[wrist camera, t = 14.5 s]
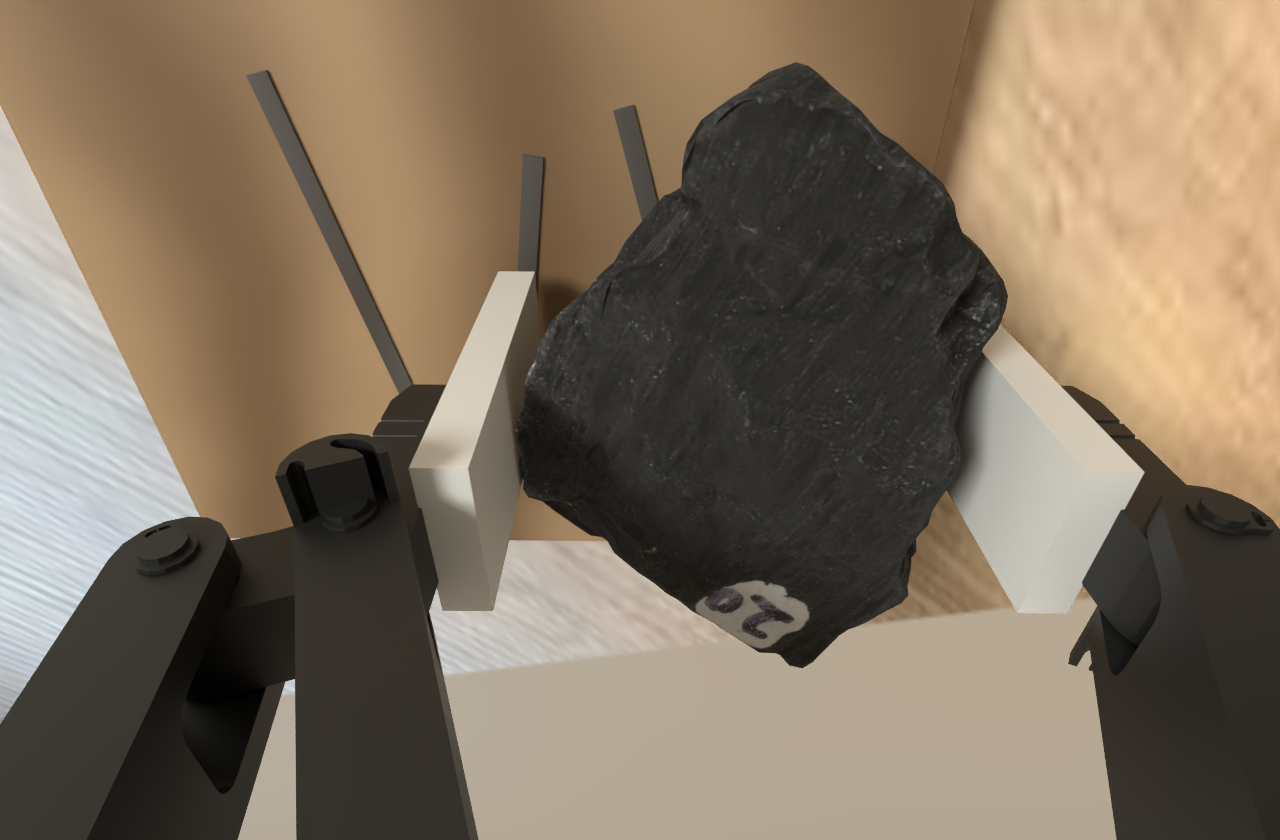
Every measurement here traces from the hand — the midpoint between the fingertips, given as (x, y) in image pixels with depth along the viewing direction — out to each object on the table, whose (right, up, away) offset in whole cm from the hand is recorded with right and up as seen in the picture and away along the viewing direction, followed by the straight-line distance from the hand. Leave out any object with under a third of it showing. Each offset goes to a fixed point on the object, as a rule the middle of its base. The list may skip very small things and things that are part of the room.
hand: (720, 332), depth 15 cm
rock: (0, 0, +1) cm, 1 cm away
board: (-5, +1, +2) cm, 5 cm away
